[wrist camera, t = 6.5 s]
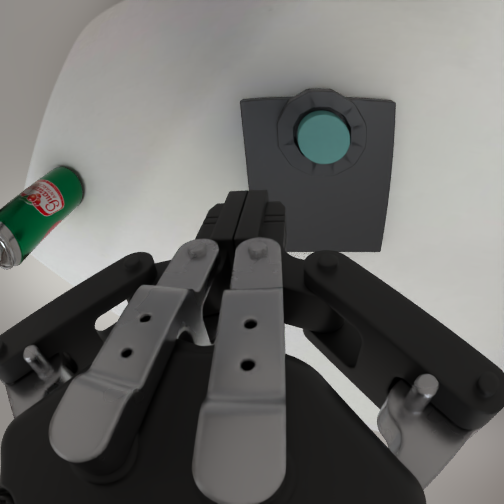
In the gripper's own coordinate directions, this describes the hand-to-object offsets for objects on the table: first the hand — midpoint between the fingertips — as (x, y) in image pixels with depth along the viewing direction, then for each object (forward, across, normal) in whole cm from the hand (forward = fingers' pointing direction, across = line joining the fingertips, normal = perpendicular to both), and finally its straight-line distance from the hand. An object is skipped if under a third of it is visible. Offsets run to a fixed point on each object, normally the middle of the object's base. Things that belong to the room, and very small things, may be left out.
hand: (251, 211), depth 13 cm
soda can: (+14, +22, +3) cm, 27 cm away
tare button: (+11, -4, 0) cm, 12 cm away
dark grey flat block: (+14, -4, +4) cm, 15 cm away
